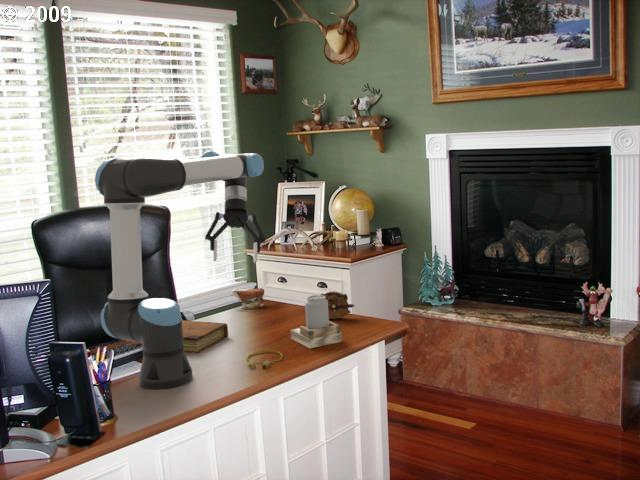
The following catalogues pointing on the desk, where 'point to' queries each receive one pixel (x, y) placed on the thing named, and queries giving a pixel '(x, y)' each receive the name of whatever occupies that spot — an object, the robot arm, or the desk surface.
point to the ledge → (317, 335)
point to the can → (316, 312)
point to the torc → (266, 363)
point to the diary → (202, 335)
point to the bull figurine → (249, 295)
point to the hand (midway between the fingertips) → (235, 261)
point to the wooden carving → (337, 304)
